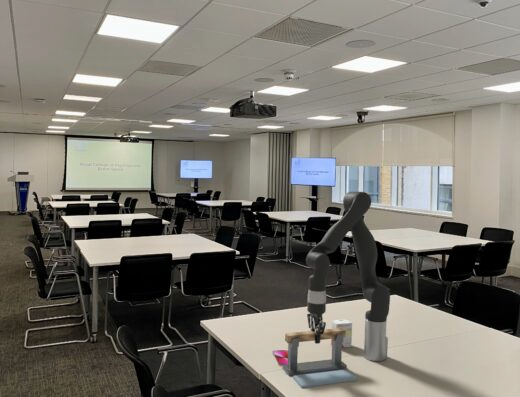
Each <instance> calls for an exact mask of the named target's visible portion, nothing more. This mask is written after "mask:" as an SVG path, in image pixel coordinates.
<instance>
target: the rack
mask: <svg viewBox="0 0 520 397" xmlns="http://www.w3.org/2000/svg"><path fill="white" fill-rule="evenodd" d="M343 335H344V334H343V333H342V334H336V338H335V339H332V345H331V358H330V359H324V360H323V359H322V360H316V361H315V360H313V361H305V362H298V353H299V351H298V350H299V347H300V342H299V338H291V343H287V344H288V345H287V351H288V364H286V365H282V366H281V368H282V369H283V371H284V372H285V373H286V375H287V376H289V377H290V376H296V375H305V374H313V373H321V372H329V371H338V370H346V369H347V370H348V365H347V364H346V363H345V362H344V361H343V360H342V357H343V356H342V354H343V352H342V351H343V348H342V342H343Z"/></svg>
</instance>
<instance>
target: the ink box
mask: <svg viewBox="0 0 520 397" xmlns="http://www.w3.org/2000/svg"><path fill="white" fill-rule="evenodd" d="M338 328H343V329H344V330H346V337H345V338H343V342H342V349H344V348H351V347H352V339H353V337H352V336H353V322H352V321H350V320H349V319H336V320H335V319H333V320H332V321H331V329H338ZM330 342H331V343H330V345H331V346H332V339H330Z"/></svg>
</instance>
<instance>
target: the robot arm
mask: <svg viewBox="0 0 520 397" xmlns="http://www.w3.org/2000/svg"><path fill="white" fill-rule="evenodd" d="M342 204H343V208H344V212H345V214H344V215H343V217H341V218H340V219H339V220H338V221H337V222H336V223H334V224H333V225H331V227H330V228H329V229H328V230H327V231H326V233H325V234H324V236H323V237H322V239H321V241H320V242H318V243H317V244H316V245H315V246H314V247H313V248H312V249H311V250H310V251H309V252H308V253H307V255H306V258H305V262H306V263H305V264H306V265H307V266H308V267H309V268H311V269H313V270H314V273H313V274H311V275H310V276H308V291H307V308H306V309H307V312H308V313H307V314H306V316H307V325H308V328H309V329H310V330H309V331H315V341H314V344H316V345H317V344H318V345H319V344H321V340H320V335H321V334H323V333H324V330H326V325H327V324H326V321H323V314H326V312H327V311H326V310H327V307H326V306H327V303H326V302H327V293H326V288H327V286H326V285H327V284H326V283H327V282H326V280H327V277H328V275H329V274H328V273H329V270H330V265H331V261H330V258H329V256H328V254H331V253H334V252H336V250H337V249H338V247H339V245H340V244H341V243H342V242H343V239H344V238H345V237H346V235H347V234H348V233H349V232H351V236H352V237H351V238H352V240H353V246H354V251H355V255H356V259H357V263H358V264H357V265H358V269H359V273H360V280H361V288H362V295H363V298H364V299H365V300H366V301H367V302H369V303H370V309H369V310H367V311H365V316H364V317H365V318H364V319H365V320H364V342H363V344H364V345H363V357H364V358H365V359H366V360H370V361H372V362H381V361H382V362H383V361H385V360H387V359H388V345H389V337H388V336H387V319H388V316H389V314H390V304H391V303H390V302H391V293H390V290H389V288H388V287H387V286H386V285H384V284H381V283H379V281H378V279H377V278H378V277H377V273H376V265H377V262H378V261H377V260H378V248H377V244H376V240H375V237H374V236H373V234H372V232H371V231H370V230H369V227H368V226H367V224H366V223H365V221H364V218H363V216H364V215H365V214H366V213H367V212H368V211H369V210H370V208H371V206H372V198H371V195H370V194H369V193H367V192H365V191H348V192H347V193H345V195H344V196H343V199H342ZM321 330H322V331H321Z"/></svg>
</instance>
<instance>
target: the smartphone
mask: <svg viewBox="0 0 520 397" xmlns="http://www.w3.org/2000/svg"><path fill="white" fill-rule="evenodd" d="M272 356H273V358H274V359H275V361H276V364H277V365H278V366H279V367H282V365H286V364H288V349H287V350H286V349H285V350H282V349H281V350H279V349H277V350H272Z"/></svg>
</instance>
